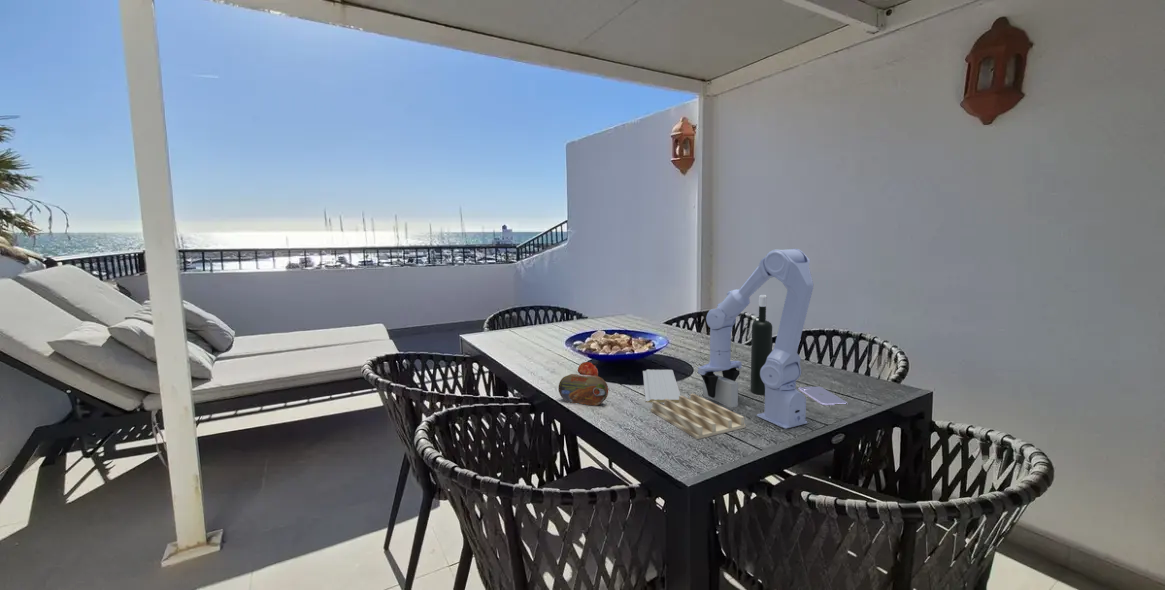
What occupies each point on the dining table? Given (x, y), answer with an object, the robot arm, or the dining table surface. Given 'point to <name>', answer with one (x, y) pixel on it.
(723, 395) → the gray rectangular block
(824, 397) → the mobile phone
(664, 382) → the baseboard molding
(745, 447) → the dining table surface
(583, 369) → the pomegranate
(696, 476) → the dining table surface
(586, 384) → the tin
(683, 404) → the rack
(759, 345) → the wine bottle
